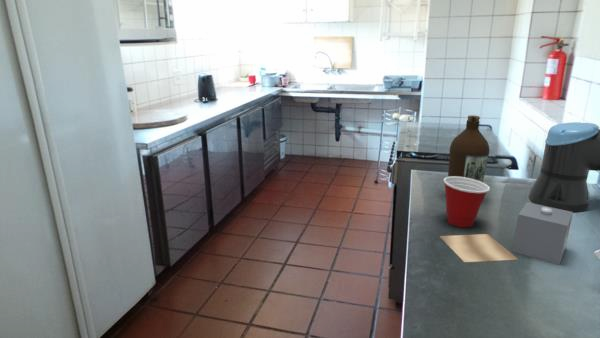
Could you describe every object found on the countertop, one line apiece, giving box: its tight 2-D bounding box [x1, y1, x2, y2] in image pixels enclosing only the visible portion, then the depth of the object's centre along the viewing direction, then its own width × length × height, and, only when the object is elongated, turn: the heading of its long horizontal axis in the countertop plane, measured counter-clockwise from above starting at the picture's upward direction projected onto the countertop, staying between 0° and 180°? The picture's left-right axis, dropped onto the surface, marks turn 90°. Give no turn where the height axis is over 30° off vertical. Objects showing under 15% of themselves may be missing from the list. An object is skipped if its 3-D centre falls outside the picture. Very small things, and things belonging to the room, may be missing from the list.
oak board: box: [439, 233, 519, 263], centre depth 92 cm, size 12×12×1 cm
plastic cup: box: [443, 176, 491, 228], centre depth 103 cm, size 11×11×12 cm
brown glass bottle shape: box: [447, 114, 490, 183], centre depth 120 cm, size 11×11×25 cm
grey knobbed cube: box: [511, 201, 574, 266], centre depth 89 cm, size 9×9×11 cm
